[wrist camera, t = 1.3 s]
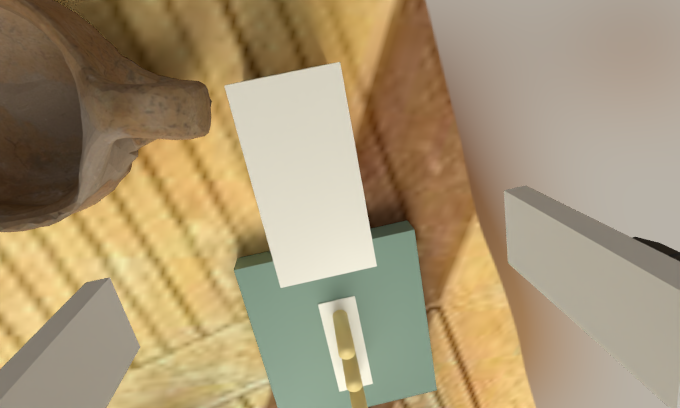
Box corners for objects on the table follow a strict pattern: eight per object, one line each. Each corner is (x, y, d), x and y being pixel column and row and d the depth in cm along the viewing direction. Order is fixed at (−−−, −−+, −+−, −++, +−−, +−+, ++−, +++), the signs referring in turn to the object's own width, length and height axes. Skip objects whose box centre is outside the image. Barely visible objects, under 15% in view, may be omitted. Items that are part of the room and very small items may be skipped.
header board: (237, 258, 32) (224, 303, 26) (407, 220, 33) (433, 255, 26) (284, 409, 37) (282, 475, 31) (429, 374, 38) (456, 433, 32)
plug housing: (242, 81, 28) (224, 85, 20) (327, 63, 28) (340, 62, 21) (283, 236, 32) (280, 288, 24) (357, 219, 32) (377, 266, 25)
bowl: (161, -85, 23) (112, -91, 15) (240, 133, 31) (236, 204, 23) (-151, -14, 22) (-379, 19, 14) (13, 189, 31) (-72, 283, 23)
